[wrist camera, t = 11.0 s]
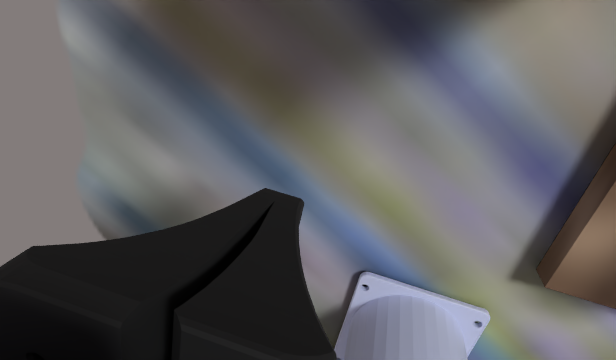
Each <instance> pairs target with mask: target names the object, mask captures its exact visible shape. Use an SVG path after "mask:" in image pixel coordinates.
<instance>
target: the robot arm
mask: <svg viewBox="0 0 616 360" xmlns="http://www.w3.org/2000/svg"><path fill="white" fill-rule="evenodd" d="M303 207H304V202H303V200H302V199H300V198H297V197H294V196H290V195H287V194H284V193H280V192H277V191H274V190H270V189H267V188H264V189H262V190H260V191H258V192H256V193H254V194H252V195H250V196H248V197H246V198H244V199H242V200H240V201H238V202H236V203H234V204H232V205H230V206H228V207H225V208H223V209H221V210H218V211H216V212H213V213H211V214H209V215H206V216H204V217H201V218H199V219H196V220H193V221H190V222H187V223H184V224H181V225H178V226H174V227H171V228H167V229H164V230H159V231H155V232H150V233H145V234H141V235H136V236H132V237H126V238H120V239H113V240H106V241H98V242H89V243H79V244H63V245H47V246H33V247H31V248H29V249H27V250H26V251H24V252H22V253H21V254H20V255H18V256H16V257H15V258H13V259H12V260H10V261H9V262H7V263H6V264H4V265H2V266H1V267H0V360H468V359H467V357H468V355H469V354H470V352H471V350H472V349H473V347H474V345H475V344H476V342H477V341H478V339H479V337H480V336H481V334H482V332H483V331H484V329H485V327H486V326H487V324H488V322H489V321H490V316H489V312H488V311H487V310H486V309H484V308H480V307H477V306H474V305H471V304H468V303H465V302H462V301H458V300H455V299H452V298H449V297H446V296H443V295H440V294H436V293H433V292H430V291H427V290H424V289H421V288H418V287H415V286H411V285H408V284H405V283H402V282H399V281H396V280H393V279H389V278H386V277H383V276H380V275H377V274H374V273H371V272H363V273H361V275H360V277H359V279H358V282H357V285H356V288H355V291H354V294H353V296H352V299H351V302H350V305H349V308H348V311H347V314H346V316H345V319H344V322H343V325H342V328H341V331H340V333H339V336H338V339H337V342H336V345H335V348H334V349H333V347H332V345H331V343H330V342H329V340H328V338H327V336H326V334H325V332H324V330H323V328H322V325H321V323H320V321H319V319H318V316H317V314H316V312H315V309H314V306H313V303H312V300H311V298H310V295H309V292H308V289H307V285H306V281H305V278H304V273H303V268H302V263H301V257H300V248H299V224H300V220H301V215H302V211H303ZM363 284H365V285H368V287H364V286H362V285H363ZM475 321H480V322H479V323H475Z"/></svg>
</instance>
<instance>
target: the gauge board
mask: <svg viewBox="0 0 616 360" xmlns="http://www.w3.org/2000/svg"><path fill="white" fill-rule="evenodd" d="M536 270H537V272H538V274H539V276H540V278H541V280H542V282H543V284H544V286H545V287H546V288H549V289H552V290H556V291H559V292H562V293H565V294H569V295H572V296H575V297H579V298H582V299H585V300H588V301H592V302H595V303H598V304H601V305H605V306H608V307H611V308H614V309H616V144H615V145H614V147H613V148H612V150H611V151H610V153H609V155H608V156H607V158H606V159H605V161H604V163H603V164H602V166H601V167H600V169H599V170H598V172H597V174H596V175H595V177H594V178H593V180H592V182H591V183H590V185H589V186H588V188H587V189H586V191H585V193H584V194H583V196H582V197H581V199H580V201H579V202H578V204H577V205H576V207H575V208H574V210H573V212H572V213H571V215H570V216H569V218H568V220H567V221H566V223H565V224H564V226H563V227H562V229H561V231H560V232H559V234H558V235H557V237H556V238H555V240H554V242H553V243H552V245H551V246H550V248H549V250H548V251H547V253H546V254H545V256H544V257H543V259H542V261H541V262H540V264H539V265H538V267H537V269H536Z"/></svg>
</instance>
